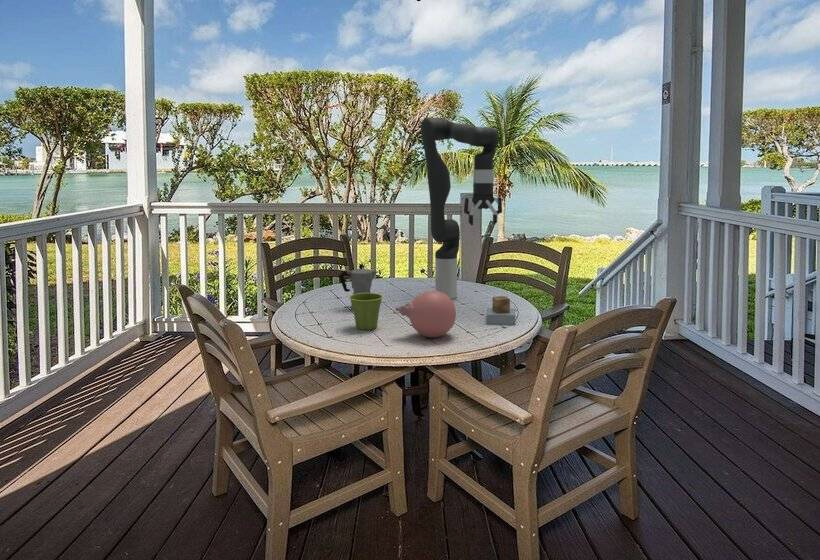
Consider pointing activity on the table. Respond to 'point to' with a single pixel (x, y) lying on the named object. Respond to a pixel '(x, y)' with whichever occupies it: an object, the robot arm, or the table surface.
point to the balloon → (430, 313)
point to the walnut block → (501, 304)
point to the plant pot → (366, 309)
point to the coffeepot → (358, 280)
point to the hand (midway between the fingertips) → (482, 224)
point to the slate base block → (500, 317)
